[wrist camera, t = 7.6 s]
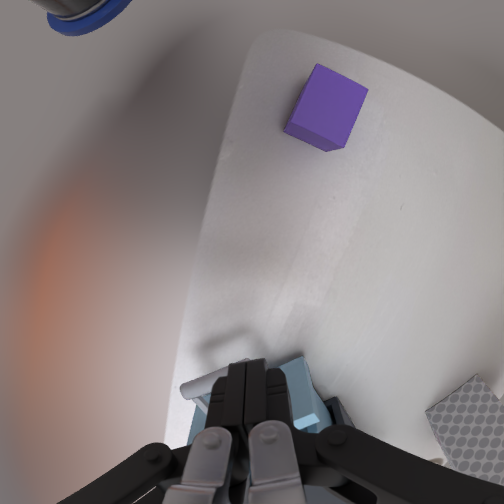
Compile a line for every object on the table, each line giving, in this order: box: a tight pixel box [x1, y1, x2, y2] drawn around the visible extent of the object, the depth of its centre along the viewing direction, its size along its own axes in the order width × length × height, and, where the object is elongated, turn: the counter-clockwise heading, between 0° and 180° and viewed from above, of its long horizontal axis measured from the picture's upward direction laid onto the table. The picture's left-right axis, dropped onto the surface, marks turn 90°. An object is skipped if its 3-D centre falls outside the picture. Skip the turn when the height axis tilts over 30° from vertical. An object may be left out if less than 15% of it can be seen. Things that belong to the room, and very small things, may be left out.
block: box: [284, 64, 368, 152], centre depth 18 cm, size 4×4×5 cm
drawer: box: [180, 356, 336, 485], centre depth 24 cm, size 18×11×7 cm, turn 30°
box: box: [426, 374, 504, 486], centre depth 17 cm, size 8×8×25 cm
